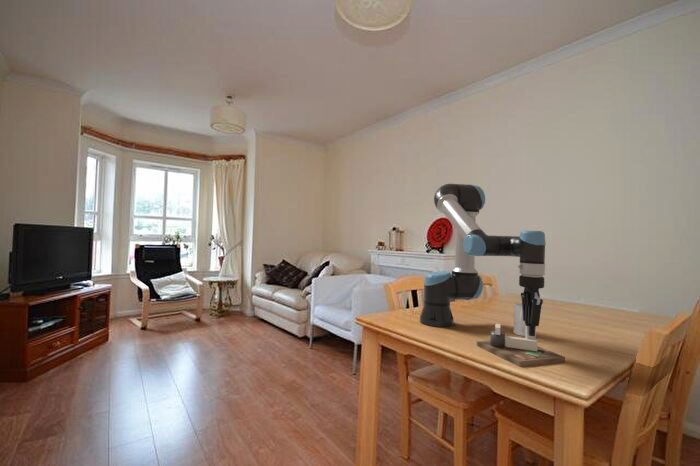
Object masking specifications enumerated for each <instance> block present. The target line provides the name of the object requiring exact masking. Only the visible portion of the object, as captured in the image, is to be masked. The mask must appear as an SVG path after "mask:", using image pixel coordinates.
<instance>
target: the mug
mask: <svg viewBox="0 0 700 466" xmlns="http://www.w3.org/2000/svg"><path fill="white" fill-rule="evenodd" d="M512 332H513V333H514V335H517V336H521V337H525V333H526V325H525V321H523V310H522V302H515V303H514V304H513V330H512ZM536 336H537V334H536V335H535V337H536Z"/></svg>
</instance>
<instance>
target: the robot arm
mask: <svg viewBox="0 0 700 466" xmlns="http://www.w3.org/2000/svg"><path fill="white" fill-rule="evenodd" d="M433 204H434V206H435V207H436V209H437V210H438V212H440V213H442V214H444V215H445V217H446V218H447V219H448V221H449V222H450V223H451V225H452V226H453V227H454V228H455V256H454V257H455V259H454V267H453V269H451V272H450V271H445V270H444V271H443V270H442V271H439V270H438V271H432V272H428V273H426V274H425V276H424V280H423V281H424V282H423V284H424V285H423V286H424V287H423V289H424V290H423V306H422V309H421V312H420V316H419V323H421V324H423V325H426V326H431V327H438V328H439V327H440V328H443V327H452V326H454V323H455V320H454V316H453V313H452V310H451V301H452V300H453V301H458V300H459V301H460V300H461V301H462V300H463V301H464V300H466V301H469V300H476V299H478V298H479V297H480V296H481V294H482V293H483V289H484V281H483V280H482V277H481V276H480V275H479V272H478V270H477V269H476V268H475V257H515V258H517V257H518V258H519V265H517V268H518V269H519V274H520V275H519V279H518V285H519V286H520V287H522V288H523V292H521V293H520V296H521V298H520V299H521V303H522V310H523V321H525V325H526V333H525V336H524V338H525V339H533V340H536V336H537V327H540V326H539V325H540V320H541V312H542V306H543V303H544V300H543V299H541V298H540V297H541V296H540V292H539V291H540V289H543V288H545V277H543V276H545V274H546V272H545V270H546V263H545V260H546V258H545V257H546V234H545V232H544V231H542V230H521V231H520V232H519V236H517V235H516V236H514V235H513V236H512V235H489V234H486V232H485V231H484V230H483V229H482V228H481V227H480V226H479V224H478V223H477V222H476V217H477V216H479V214H480V210H482V209H483V208H484V206H485V204H486V196H485V191H484V189H482V188H481V186H478V185H475V184H474V185H473V184H463V183H460V184H459V183H446V184H443V185H441V186H440V187H439V188H437V190H436V191H435V193H434V196H433ZM535 335H536V336H535Z"/></svg>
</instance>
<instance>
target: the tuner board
mask: <svg viewBox="0 0 700 466" xmlns="http://www.w3.org/2000/svg"><path fill="white" fill-rule="evenodd" d="M476 346H477V347H479V348H481V349H482V350H485V351H487V352H489V353H491V354H493V355H495V356H497V357H499V358H501V359H504V360H506V361H508V362H509V363H511V364H513V365H515V366H518V367H528V366H537V365H538V364H539V365H547V364H554V363H555V364H556V363H565V362H566V356H563V355H561V354H558V353H556V352H553V351H551V350H548V349H547V348H546V349H545V348H543V347H540V346H538V345H537V349H540V350H545V352H538V351H531V350H524V349H518V348H511V347H494V346H492V345H490V339H489V340H477V341H476Z"/></svg>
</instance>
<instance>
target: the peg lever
mask: <svg viewBox="0 0 700 466" xmlns="http://www.w3.org/2000/svg"><path fill="white" fill-rule="evenodd" d="M494 327H495V328H494V330H491V331H490V339H489V340H490V345H492V346H494V347H511V348H518V349H524V350H531V351H538V352H545V350H540V349H537V346H538V340H537V339H535V340H533V339H525V337H517V336H510V335H506V334H505V332H503V331H501V323H495V325H494Z"/></svg>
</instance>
